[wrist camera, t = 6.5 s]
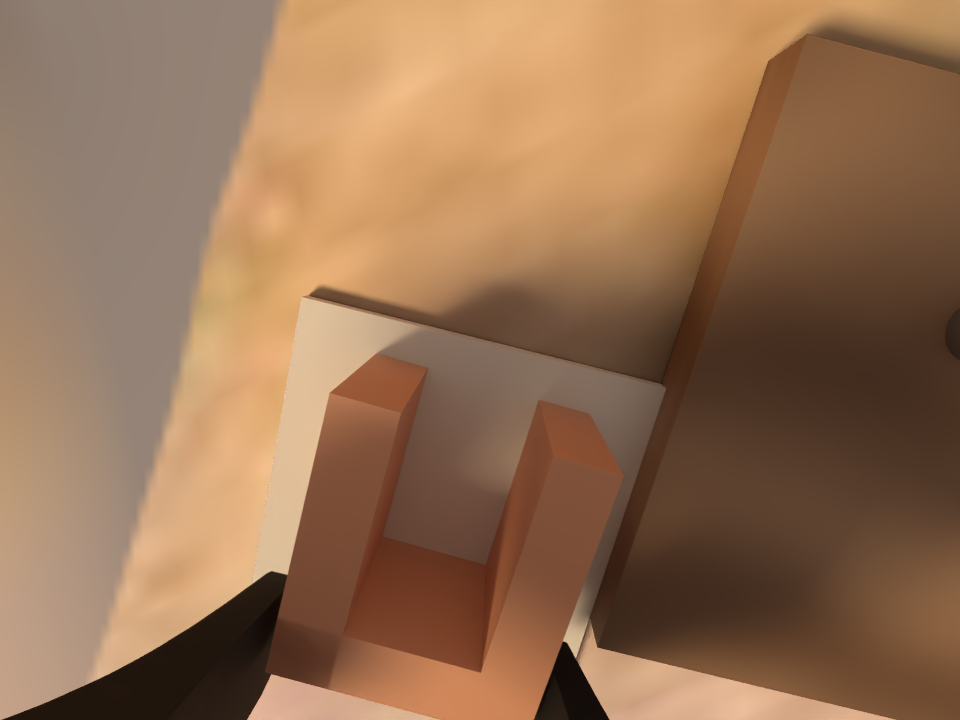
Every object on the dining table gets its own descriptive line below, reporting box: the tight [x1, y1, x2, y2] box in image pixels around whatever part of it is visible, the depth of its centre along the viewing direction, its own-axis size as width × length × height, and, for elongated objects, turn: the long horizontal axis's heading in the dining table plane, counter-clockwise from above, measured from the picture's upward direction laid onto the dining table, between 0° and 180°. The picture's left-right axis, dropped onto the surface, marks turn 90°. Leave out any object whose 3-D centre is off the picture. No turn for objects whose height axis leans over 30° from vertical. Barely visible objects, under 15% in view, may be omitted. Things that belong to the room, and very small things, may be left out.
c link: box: [265, 353, 624, 720], centre depth 12 cm, size 6×5×4 cm
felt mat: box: [252, 296, 666, 658], centre depth 14 cm, size 9×9×1 cm
